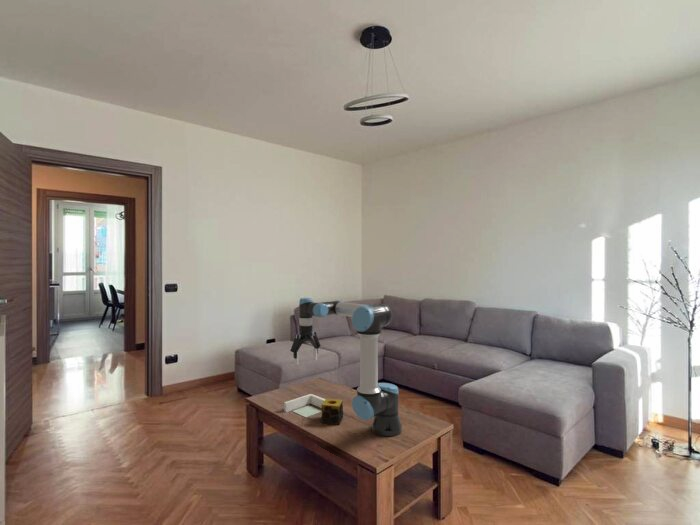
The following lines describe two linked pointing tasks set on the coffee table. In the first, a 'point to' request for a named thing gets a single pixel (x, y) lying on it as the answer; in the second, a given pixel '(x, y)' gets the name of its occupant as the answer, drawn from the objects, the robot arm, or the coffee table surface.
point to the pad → (307, 411)
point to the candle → (332, 411)
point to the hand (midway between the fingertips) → (305, 361)
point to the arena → (303, 402)
